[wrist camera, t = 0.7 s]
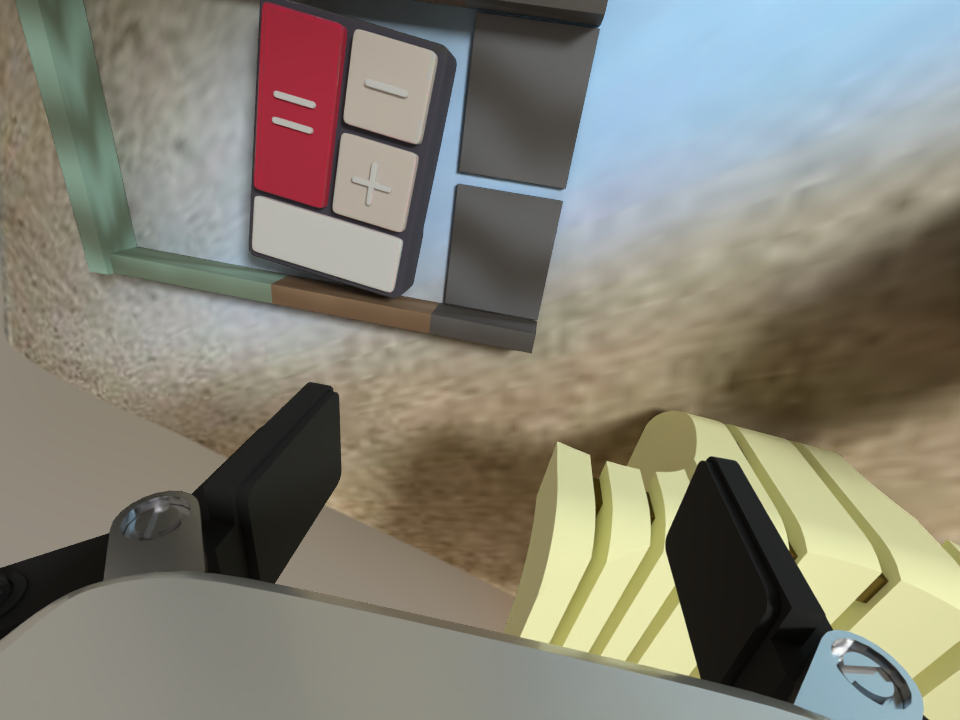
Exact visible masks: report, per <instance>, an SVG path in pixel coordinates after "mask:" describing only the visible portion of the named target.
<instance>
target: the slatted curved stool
mask: <svg viewBox="0 0 960 720" xmlns="http://www.w3.org/2000/svg"><path fill="white" fill-rule="evenodd" d="M711 456H714V457H719V458H724V459H730V460H735V461H737V462H738V464H739V465H740V467H741V468H742V470H743V472H744V474H745V475H746V477H747V479H748V481H749V482H750V484H751V486H752V488H753V489H754V491H755V493H756V494H757V496H758V498H759V500H760V501H761V503H762V505H763V507H764V508H765V510H766V512H767V514H768V515H769V517H770V519H771V520H772V522H773V524H774V526H775V527H776V529H777V531H778V533H779V534H780V536H781V538H782V539H783V541H784V543H785V545H786V546H787V548H788V550H789V552H790V553H791V555H792V557H793V559H794V560H795V562H796V564H797V565H798V567H799V569H800V571H801V572H802V574H803V576H804V578H805V579H806V581H807V583H808V585H809V586H810V588H811V590H812V591H813V593H814V595H815V597H816V598H817V600H818V602H819V604H820V605H821V607H822V609H823V611H824V612H825V614H826V618H827V620H828V621H829V623H830V625H831V627H832V628H833V630H842V631H849V632H851V633H854V634H857V635H859V636H862V637H864V638H866V639H867V640H869V641H871V642H873V643H874V644H876V645H878V646H879V647H880V648H882V649H883V650H884V651H885V652H887V653H888V654H889V655H891V656H892V657H893V658H894V659H895V660H896V661H897V662H898V663H899V664H900V665H901V666H902V667H903V668H904V669H905V670H906V671H907V673H908V674H909V675H910V677H911V678H912V679H913V681H914V682H915V683H916V685H917V687H918V689H919V691H920V693H921V696H922V698H923V706H924V712H923V715H924V716H925V717H927V718H928V719H929V720H960V546H958V545H957V544H955V543H953V542H951V541H949V540H948V539H947V540H946V541H945V542H944V543H943V544H942V545H940V544H939V543H938V542H937V541H936V540H935V539H934V538H933V537H932V536H931V535H930V534H929V533H928V532H927V531H926V529H925V528H924V527H923V526H922V525H921V524H920V523H919V522H918V521H917V520H916V519H915V518H914V517H913V516H911V515H910V514H909V513H907V512H906V511H905V510H904V509H902V508H901V507H900V506H898V505H897V504H896V503H894V502H893V501H892V500H891V499H889V498H888V497H887V496H886V495H884V494H883V493H882V492H881V491H879V490H878V489H877V488H876V487H875V486H874V485H872V484H871V483H870V482H869V481H868V480H866V479H865V478H864V477H863V476H862V475H861V474H860V473H858V472H857V471H856V470H855V469H854V468H853V467H852V466H851V465H850V464H849V463H848V462H847V461H846V460H845V459H844V458H843V457H842V456H840V455H839V454H837V453H836V452H833V451H830V450H826V449H822V448H818V447H814V446H811V445H807V444H803V443H799V442H795V441H791V440H790V441H788V440H786V439H784V438H780V437H776V436H772V435H769V434H765V433H761V432H757V431H753V430H750V429H746V428H742V427H738V426H734V425H730V424H723V423H721V422H719V421H715V420H712V419H708V418H704V417H700V416H696V415H693V414H689V413H685V412H681V411H667V412H663V413H661V414H659V415H656V416H655V417H654V418H652V419H651V420H650V421H649V422H648V424H647V425H646V427H645V429H644V431H643V433H642V435H641V437H640V439H639V441H638V443H637V445H636V447H635V449H634V452H633V454H632V456H631V458H630V460H629V462H628V464H627V466H623V465H620V464H616V463H613V462H609V461H606V463H605V466H604V468H603V470H602V472H601V474H600V477H599V479H597V478H593V477H592V468H591V459H590V455H589V454H586V453H584V452H581V451H579V450H576V449H574V448H572V447H569V446H567V445H565V444H562V443H560V442H558V441H557V443H556V446H555V448H554V451H553V454H552V457H551V459H550V462H549V465H548V467H547V470H546V473H545V475H544V478H543V481H542V483H541V486H540V489H539V491H538V494H537V499H536V507H535V515H534V521H533V528H532V533H531V539H530V544H529V548H528V553H527V557H526V561H525V565H524V569H523V572H522V576H521V580H520V583H519V586H518V590H517V593H516V596H515V599H514V603H513V606H512V609H511V612H510V615H509V617H508V620H507V623H506V626H505V629H504V632H503V633H504V634H509V635H513V636H518V637H522V638H526V639H531V640H535V641H540V642H544V643H549V644H553V645H558V646H562V647H566V648H571V649H575V650H579V651H584V652H588V653H592V654H597V655H601V656H605V657H610V658H614V659H618V660H623V661H627V662H631V663H636V664H640V665H645V666H649V667H653V668H658V669H662V670H666V671H671V672H675V673H679V674H683V675H687V676H691V677H695V678H699V679H701V678H700V674H699V671H698V667H697V663H696V660H695V656H694V652H693V649H692V645H691V642H690V638H689V634H688V631H687V627H686V623H685V620H684V616H683V612H682V609H681V605H680V601H679V598H678V594H677V590H676V587H675V583H674V580H673V576H672V572H671V569H670V565H669V561H668V558H667V554H666V550H665V541H666V536H667V534H668V531H669V529H670V527H671V525H672V522H673V520H674V518H675V515H676V513H677V511H678V509H679V506H680V504H681V502H682V499H683V497H684V495H685V493H686V490H687V488H688V486H689V483H690V481H691V479H692V477H693V474H694V472H695V470H696V467H697V465H698V463H699V462H700V461H702V460H703V461H706V460H707V458H709V457H711Z"/></svg>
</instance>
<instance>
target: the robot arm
mask: <svg viewBox="0 0 960 720" xmlns="http://www.w3.org/2000/svg"><path fill="white" fill-rule="evenodd" d="M340 477H341V443H340V411H339V395H338V393H337V392H333V388H332V387H331V386H329V385H323V384H318V383H312V382H309V383H307V384H306V385H305V386H304V387H303V388H302V389H301V390H300V391H299V392H298V393H297V394H296V395H295V396H294V397H293V398H292V399H291V400H290V401H289V402H288V403H287V404H286V405H285V406H284V407H282V408H281V409H280V410H279V411H278V412H277V413H276V414H275V415H274V416H273V417H272V418H271V419H270V420H269V421H268V422H267V423H266V424H265V425H264V426H262V427H261V428H259V429H258V430H257V431H256V432H255V433H254V434H253V435H252V436H251V437H250V438H249V439H248V440H247V441H246V442H245V443H244V444H243V445H242V446H241V447H240V448H239V449H238V450H237V451H236V452H235V453H233V454H232V455H231V456H230V457H229V458H228V459H227V460H226V461H225V462H224V463H223V464H222V465H221V466H220V467H219V468H218V469H217V470H216V471H215V472H214V473H213V474H212V475H211V476H210V477H209V478H208V479H207V480H206V481H205V482H204V483H202V485H201V486H199V487H198V489H196V490H195V491H194V492H193V493H192V494H190V493H186V492H183V491H166V492H159V493H155V494H152V495H149V496H146V497H144V498H142V499H140V500H138V501H136V502H134V503H132V504H130V505H129V506H128V507H126V508H125V509H124V510H122V511H121V512H120V513H119V515H118V516H117V517H116V518H115V519H114V521H113V523H112V525H111V528H110V532H109V533H108V534H105V535H102V536H99V537H96V538H93V539H89V540H86V541H84V542H80V543H77V544H74V545H71V546H68V547H65V548H61V549H58V550H55V551H52V552H49V553H46V554H43V555H40V556H36V557H33V558H30V559H27V560H24V561H21V562H18V563H15V564H12V565H8V566H6V567H2V568H0V720H929V719H928V718H927V717H925V716H924V715H923V712H924V706H923V698H922V696H921V693H920V691H919V689H918V687H917V685H916V683H915V682H914V681H913V679H912V678H911V677H910V675H909V674H908V673H907V671H906V670H905V669H904V668H903V667H902V666H901V665H900V664H899V663H898V662H897V661H896V660H895V659H894V658H893V657H892V656H891V655H889V654H888V653H887V652H885V651H884V650H883V649H882V648H880V647H879V646H878V645H876V644H874V643H873V642H871V641H869V640H867V639H866V638H864V637H862V636H859V635H857V634H854V633H851V632H849V631H842V630H833V628H832V627H831V625H830V623H829V621H828V620H827V618H826V614H825V612H824V611H823V609H822V607H821V605H820V604H819V602H818V600H817V598H816V597H815V595H814V593H813V591H812V590H811V588H810V586H809V585H808V583H807V581H806V579H805V578H804V576H803V574H802V572H801V571H800V569H799V567H798V565H797V564H796V562H795V560H794V559H793V557H792V555H791V553H790V552H789V550H788V548H787V546H786V545H785V543H784V541H783V539H782V538H781V536H780V534H779V533H778V531H777V529H776V527H775V526H774V524H773V522H772V520H771V519H770V517H769V515H768V514H767V512H766V510H765V508H764V507H763V505H762V503H761V501H760V500H759V498H758V496H757V494H756V493H755V491H754V489H753V488H752V486H751V484H750V482H749V481H748V479H747V477H746V475H745V474H744V472H743V470H742V468H741V467H740V465H739V464H738V462H737V461H735V460H730V459H724V458H719V457H714V456H711V457H709V458H707V460H706V461H703V460H702V461H700V462H699V463H698V465H697V467H696V470H695V472H694V474H693V477H692V479H691V481H690V483H689V486H688V488H687V490H686V493H685V495H684V497H683V499H682V502H681V504H680V506H679V509H678V511H677V513H676V515H675V518H674V520H673V522H672V525H671V527H670V529H669V531H668V534H667V536H666V541H665V550H666V554H667V558H668V561H669V565H670V569H671V572H672V576H673V580H674V583H675V587H676V590H677V594H678V598H679V601H680V605H681V609H682V612H683V616H684V620H685V623H686V627H687V631H688V634H689V638H690V642H691V645H692V649H693V652H694V656H695V660H696V663H697V667H698V671H699V674H700V678H701V679H699V678H695V677H691V676H687V675H683V674H679V673H675V672H671V671H666V670H662V669H658V668H653V667H649V666H645V665H640V664H636V663H631V662H627V661H623V660H618V659H614V658H610V657H605V656H601V655H597V654H592V653H588V652H584V651H579V650H575V649H571V648H566V647H562V646H558V645H553V644H549V643H544V642H540V641H535V640H531V639H526V638H522V637H518V636H513V635H509V634H504V633H500V632H495V631H491V630H486V629H482V628H477V627H473V626H468V625H464V624H460V623H455V622H450V621H446V620H441V619H437V618H432V617H428V616H423V615H419V614H414V613H410V612H405V611H401V610H396V609H392V608H387V607H382V606H378V605H373V604H368V603H364V602H359V601H355V600H350V599H346V598H341V597H337V596H332V595H327V594H323V593H318V592H313V591H309V590H303V589H298V588H293V587H288V586H283V585H278V584H275V582H276V581H277V579H278V578H279V576H280V574H281V573H282V571H283V570H284V568H285V567H286V565H287V563H288V562H289V560H290V559H291V557H292V555H293V554H294V552H295V551H296V549H297V548H298V546H299V544H300V543H301V541H302V539H303V538H304V537H305V535H306V533H307V532H308V530H309V529H310V527H311V526H312V524H313V522H314V521H315V519H316V518H317V516H318V514H319V513H320V511H321V510H322V508H323V507H324V505H325V503H326V502H327V500H328V499H329V497H330V496H331V494H332V492H333V491H334V489H335V488H336V486H337V484H338V482H339V480H340Z"/></svg>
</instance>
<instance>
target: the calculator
mask: <svg viewBox="0 0 960 720" xmlns="http://www.w3.org/2000/svg"><path fill="white" fill-rule="evenodd" d="M456 66H457V62H456V59H455V58H454V56H453V55H452V54H451V53H450V51H449V50H448V49H447V48H446V47H445V46H444V45H441V44H439V43H435V42H432V41H428V40H425V39H422V38H418V37H415V36H412V35H408V34H405V33H402V32H398V31H395V30H391V29H388V28H385V27H381V26H378V25H375V24H371V23H368V22H365V21H361V20H358V19H354V18H351V17H348V16H344V15H341V14H338V13H334V12H331V11H328V10H324V9H321V8H317V7H314V6H311V5H307V4H304V3H301V2H297V1H294V0H260V17H259V39H258V61H257V82H256V104H255V126H254V148H253V169H252V191H251V213H250V235H249V250H250V252H251V254H252V255H254V256H257V257H260V258H263V259H266V260H270V261H273V262H276V263H279V264H283V265H286V266H289V267H292V268H296V269H299V270H302V271H305V272H309V273H312V274H315V275H318V276H322V277H325V278H328V279H331V280H335V281H338V282H341V283H344V284H348V285H351V286H354V287H357V288H361V289H364V290H367V291H370V292H374V293H377V294H380V295H383V296H387V297H390V298H394V299H396V298H398V297H400V296H401V295H402V294H403V293H404V292H405V291H407V290H408V289H409V288H410V287H411V286H412V285H413V283H414V278H415V273H416V268H417V263H418V258H419V253H420V248H421V243H422V238H423V228H424V223H425V218H426V213H427V209H428V204H429V199H430V194H431V189H432V185H433V180H434V175H435V170H436V166H437V161H438V156H439V151H440V147H441V142H442V137H443V132H444V127H445V122H446V117H447V112H448V107H449V102H450V97H451V92H452V87H453V82H454V77H455V72H456Z"/></svg>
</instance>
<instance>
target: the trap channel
mask: <svg viewBox="0 0 960 720" xmlns="http://www.w3.org/2000/svg"><path fill="white" fill-rule="evenodd" d="M415 1H423V2H430V3H437V4H445V5H452V6H459V7H467V8H474V9H481V10H488V11H496V12H503V13H510V14H518V15H525V16H532V17H539V18H547V19H554V20H561V21H569V22H576V23H583V24H591V25H598V26H600V25H601V23H602V20H603V18H604V15H605V11H606V6H607V1H608V0H415ZM15 2H16V5H17V9H18V13H19V16H20V20H21V24H22V27H23V31H24V35H25V38H26V42H27V45H28V49H29V53H30V56H31V60H32V64H33V67H34V71H35V75H36V78H37V82H38V85H39V89H40V93H41V96H42V100H43V104H44V107H45V111H46V114H47V118H48V122H49V125H50V129H51V133H52V136H53V140H54V144H55V147H56V151H57V154H58V158H59V162H60V165H61V169H62V173H63V176H64V180H65V184H66V187H67V191H68V194H69V198H70V202H71V205H72V209H73V213H74V216H75V220H76V224H77V227H78V231H79V234H80V238H81V242H82V245H83V249H84V253H85V256H86V260H87V264H88V267H89V271H90V272H96V273H101V274H106V275H109V274H112V273H116V274H121V275H126V276H131V277H137V278H142V279H147V280H152V281H157V282H163V283H168V284H173V285H178V286H183V287H189V288H194V289H199V290H204V291H210V292H215V293H220V294H225V295H230V296H236V297H241V298H246V299H251V300H256V301H262V302H267V303H272V304H277V305H283V306H288V307H293V308H298V309H303V310H309V311H314V312H319V313H324V314H329V315H335V316H340V317H345V318H350V319H355V320H361V321H366V322H371V323H376V324H382V325H387V326H392V327H397V328H402V329H408V330H413V331H418V332H423V333H428V334H434V335H439V336H444V337H449V338H455V339H460V340H465V341H470V342H475V343H481V344H486V345H491V346H496V347H501V348H507V349H512V350H517V351H522V352H527V353H532V349H533V344H534V340H535V335H536V326H537V321H533V320H528V319H534V320H537V319H538V315H539V310H540V305H541V301H542V296H543V291H544V287H545V282H546V277H547V273H548V268H549V263H550V259H551V254H552V249H553V245H554V240H555V235H556V231H557V226H558V221H559V217H560V212H561V207H562V203H563V201H560V200H554V199H548V198H542V197H536V196H530V195H523V194H517V193H511V192H505V191H499V190H493V189H487V188H481V187H475V186H469V185H463V184H458V187H457V197H456V206H455V215H454V224H453V234H452V243H451V252H450V261H449V271H448V280H447V289H446V298H445V303H448V304H453V305H458V306H464V307H469V308H474V309H480V310H485V311H491V312H496V313H501V314H507V315H512V316H517V317H523V318H528V319H522V318H517V317H512V316H506V315H501V314H495V313H490V312H485V311H479V310H474V309H469V308H463V307H458V306H453V305H447V304H442V303H436V302H431V301H426V300H420V299H415V298H410V297H404V296H400V297H398V298H396V299H394V298H390V297H387V296H383V295H380V294H377V293H374V292H370V291H367V290H364V289H361V288H356V287H351V286H345V285H340V284H335V283H329V282H324V281H319V280H313V279H308V278H302V277H297V276H292V275H286V274H281V273H276V272H270V271H265V270H260V269H254V268H249V267H243V266H238V265H233V264H227V263H222V262H217V261H211V260H206V259H201V258H195V257H190V256H184V255H179V254H174V253H168V252H163V251H158V250H152V249H147V248H142V247H137V245H136V240H135V236H134V231H133V227H132V222H131V217H130V213H129V208H128V204H127V199H126V195H125V190H124V185H123V181H122V176H121V172H120V167H119V163H118V158H117V153H116V149H115V144H114V140H113V135H112V131H111V126H110V121H109V117H108V112H107V108H106V103H105V99H104V94H103V89H102V85H101V80H100V76H99V71H98V67H97V62H96V57H95V53H94V48H93V44H92V39H91V35H90V30H89V25H88V21H87V16H86V12H85V7H84V3H83V0H15ZM599 30H600V29H596V28H589V27H582V26H574V25H567V24H560V23H553V22H545V21H538V20H531V19H524V18H516V17H509V16H502V15H495V14H487V13H480V12H476V21H475V30H474V40H473V49H472V58H471V67H470V77H469V86H468V95H467V104H466V113H465V123H464V132H463V141H462V150H461V160H460V169H459V171H461V172H468V173H474V174H480V175H486V176H492V177H498V178H504V179H510V180H516V181H522V182H528V183H535V184H541V185H547V186H553V187H559V188H565V189H566V184H567V179H568V175H569V170H570V165H571V161H572V156H573V151H574V147H575V142H576V137H577V133H578V128H579V123H580V119H581V114H582V110H583V105H584V100H585V96H586V91H587V86H588V82H589V77H590V72H591V68H592V63H593V58H594V54H595V49H596V44H597V40H598V35H599Z"/></svg>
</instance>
